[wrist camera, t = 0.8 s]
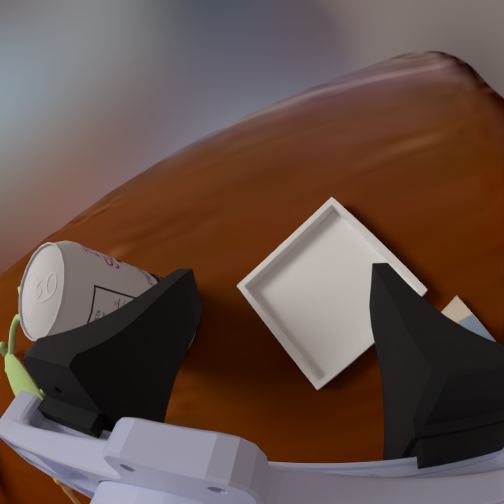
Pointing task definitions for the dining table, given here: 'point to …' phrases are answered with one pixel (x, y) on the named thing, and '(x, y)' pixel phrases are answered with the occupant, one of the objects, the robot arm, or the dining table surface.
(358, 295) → the tray
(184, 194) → the dining table surface
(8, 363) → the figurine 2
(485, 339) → the robot arm
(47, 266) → the supplement can
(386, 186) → the dining table surface
